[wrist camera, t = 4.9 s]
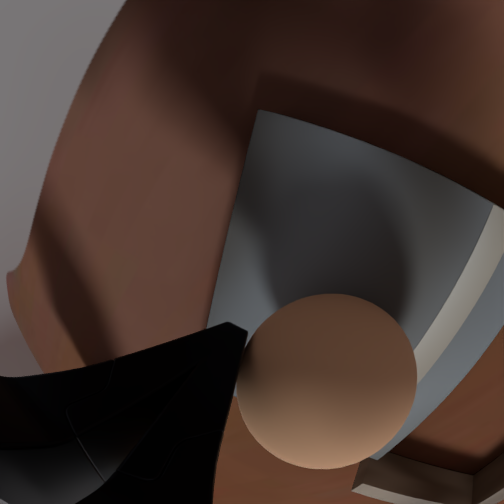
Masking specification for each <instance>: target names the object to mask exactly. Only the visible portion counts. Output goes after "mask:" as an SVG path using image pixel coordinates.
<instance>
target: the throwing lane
mask: <svg viewBox="0 0 504 504" xmlns="http://www.w3.org/2000/svg"><path fill="white" fill-rule="evenodd" d="M319 294H345V295H350V296H355V297H358V298H361V299H364V300H366V301H369V302H371V303H373V304H375V305H376V306H378V307H380V308H381V309H383V310H384V311H385V312H387V313H388V314H389V315H390V316H391V317H392V318H394V320H395V321H396V322H397V323H398V324H399V326H400V327H401V328H402V329H403V331H404V332H405V334H406V336H407V337H408V339H409V341H410V344H411V346H412V349H413V352H414V356H415V360H416V364H417V388H416V394H415V398H414V402H413V405H412V408H411V410H410V413H409V415H408V417H407V419H406V420H405V422H404V424H403V426H402V427H401V429H400V430H399V431H398V432H397V434H396V435H395V436H394V437H393V438H392V440H390V441H389V442H388V443H387V444H386V445H385V446H384V447H383V448H381V449H380V450H379V451H378V452H376V453H375V454H373V455H371V456H370V457H368V458H366V459H364V460H362V461H360V464H359V468H358V471H357V474H356V477H355V480H354V484H353V487H352V490H351V491H353V492H356V493H359V494H362V495H366V496H369V497H372V498H376V499H379V500H383V501H387V502H391V503H395V504H496V503H498V502H500V501H501V500H503V499H504V453H503V454H501V455H500V456H499V457H498V458H496V459H495V460H494V461H492V462H491V463H490V464H488V465H487V466H486V467H484V468H483V469H482V470H480V471H479V472H477V473H476V474H475V475H468V474H464V473H459V472H455V471H451V470H447V469H443V468H439V467H436V466H432V465H428V464H425V463H421V462H418V461H415V460H411V459H408V458H405V457H402V456H399V455H396V454H393V453H390V452H388V451H390V450H391V449H392V448H393V447H394V446H396V445H397V444H398V443H399V442H400V441H401V440H403V439H404V438H405V437H406V436H407V435H408V434H409V433H410V432H412V431H413V430H414V429H415V428H416V427H417V426H418V425H419V424H420V423H421V422H422V421H423V420H424V419H425V418H426V417H427V416H428V415H429V414H430V413H431V412H432V411H433V410H434V409H435V408H436V407H437V406H438V405H439V404H440V403H441V402H442V401H443V400H444V399H445V398H446V397H447V396H448V395H449V394H450V393H451V391H452V390H453V389H454V388H455V387H456V386H457V385H458V384H459V382H460V381H461V380H462V379H463V378H464V377H465V375H466V374H467V373H468V372H469V371H470V369H471V368H472V367H473V366H474V364H475V363H476V362H477V361H478V359H479V358H480V357H481V355H482V354H483V353H484V352H485V350H486V349H487V348H488V346H489V345H490V343H491V342H492V341H493V339H494V338H495V336H496V335H497V334H498V332H499V331H500V329H501V328H502V326H503V325H504V209H503V208H501V207H499V206H498V205H496V204H494V203H493V202H491V201H489V200H487V199H486V198H484V197H482V196H480V195H479V194H477V193H475V192H473V191H471V190H470V189H468V188H466V187H464V186H462V185H460V184H458V183H456V182H455V181H453V180H451V179H449V178H447V177H445V176H443V175H441V174H439V173H437V172H434V171H432V170H430V169H428V168H426V167H424V166H422V165H420V164H417V163H415V162H413V161H411V160H408V159H406V158H404V157H402V156H399V155H397V154H395V153H392V152H390V151H387V150H385V149H382V148H380V147H377V146H375V145H372V144H370V143H367V142H364V141H362V140H359V139H356V138H354V137H351V136H348V135H345V134H342V133H340V132H337V131H334V130H331V129H328V128H325V127H322V126H319V125H315V124H312V123H309V122H306V121H302V120H299V119H296V118H292V117H289V116H285V115H281V114H278V113H274V112H269V111H265V110H260V109H258V112H257V116H256V120H255V124H254V128H253V131H252V135H251V139H250V143H249V147H248V151H247V155H246V159H245V163H244V167H243V171H242V175H241V179H240V183H239V187H238V191H237V195H236V200H235V204H234V208H233V212H232V216H231V221H230V225H229V229H228V233H227V238H226V242H225V246H224V251H223V255H222V260H221V264H220V268H219V273H218V277H217V282H216V286H215V291H214V296H213V300H212V305H211V309H210V314H209V319H208V323H207V328H210V327H213V326H216V325H218V324H221V323H224V322H231V323H233V324H235V325H237V326H239V327H241V328H243V329H245V330H247V331H248V337H247V341H246V345H247V343H248V342H249V340H250V338H251V337H252V335H253V334H254V332H255V331H256V330H257V328H258V327H259V326H260V325H261V324H262V323H263V322H264V321H265V320H266V319H267V318H268V317H270V316H271V315H272V314H273V313H275V312H276V311H278V310H279V309H281V308H282V307H284V306H286V305H288V304H289V303H292V302H294V301H296V300H299V299H301V298H304V297H308V296H313V295H319ZM207 328H206V329H207ZM246 345H245V347H246ZM236 383H237V382H236ZM233 395H234V396H235V397H237V394H236V386H235V390H234V394H233Z"/></svg>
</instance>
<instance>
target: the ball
mask: <svg viewBox="0 0 504 504" xmlns="http://www.w3.org/2000/svg"><path fill="white" fill-rule="evenodd" d="M416 388H417V364H416V360H415V356H414V352H413V349H412V346H411V344H410V341H409V339H408V337H407V336H406V334H405V332H404V331H403V329H402V328H401V327H400V326H399V324H398V323H397V322H396V321H395V320H394V318H392V317H391V316H390V315H389V314H388V313H387V312H385V311H384V310H383V309H381V308H380V307H378V306H376V305H375V304H373V303H371V302H369V301H366V300H364V299H361V298H358V297H355V296H350V295H345V294H319V295H313V296H308V297H304V298H301V299H299V300H296V301H294V302H292V303H289V304H288V305H286V306H284V307H282V308H281V309H279V310H278V311H276V312H275V313H273V314H272V315H271V316H270V317H268V318H267V319H266V320H265V321H264V322H263V323H262V324H261V325H260V326H259V327H258V328H257V330H256V331H255V332H254V334H253V335H252V337H251V338H250V340H249V342H248V343H247V345H246V347H245V350H244V354H243V358H242V362H241V366H240V370H239V374H238V378H237V383H236V394H237V400H238V405H239V409H240V412H241V415H242V418H243V420H244V422H245V424H246V426H247V428H248V429H249V431H250V432H251V434H252V435H253V436H254V438H255V439H256V440H257V441H258V442H259V443H260V444H261V445H262V446H263V447H264V448H265V449H266V450H268V451H269V452H270V453H272V454H273V455H275V456H276V457H278V458H280V459H282V460H284V461H286V462H288V463H291V464H294V465H297V466H300V467H305V468H311V469H332V468H340V467H344V466H348V465H351V464H355V463H357V462H359V461H362V460H364V459H366V458H368V457H370V456H371V455H373V454H375V453H376V452H378V451H379V450H380V449H381V448H383V447H384V446H385V445H386V444H387V443H388V442H389V441H390V440H392V438H393V437H394V436H395V435H396V434H397V432H398V431H399V430H400V429H401V427H402V426H403V424H404V422H405V420H406V419H407V417H408V415H409V413H410V410H411V408H412V405H413V402H414V398H415V394H416Z"/></svg>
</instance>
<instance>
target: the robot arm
mask: <svg viewBox="0 0 504 504" xmlns="http://www.w3.org/2000/svg"><path fill="white" fill-rule="evenodd" d="M247 337H248V331H247V330H245V329H243V328H241V327H239V326H237V325H235V324H233V323H231V322H224V323H221V324H218V325H216V326H213V327H210V328H207V329H204V330H201V331H198V332H196V333H193V334H190V335H187V336H184V337H181V338H178V339H175V340H172V341H169V342H166V343H163V344H160V345H157V346H154V347H151V348H147V349H144V350H141V351H138V352H135V353H132V354H128V355H125V356H122V357H118V358H115V359H114V360H108V361H105V362H101V363H98V364H94V365H90V366H86V367H82V368H77V369H72V370H66V371H61V372H54V373H47V374H40V375H32V376H24V377H3V376H0V504H213V493H214V483H215V474H216V466H217V461H218V456H219V452H220V447H221V443H222V439H223V435H224V430H225V426H226V423H227V419H228V415H229V411H230V407H231V403H232V399H233V394H234V390H235V386H236V382H237V378H238V374H239V370H240V366H241V362H242V358H243V354H244V350H245V345H246V341H247Z"/></svg>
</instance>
